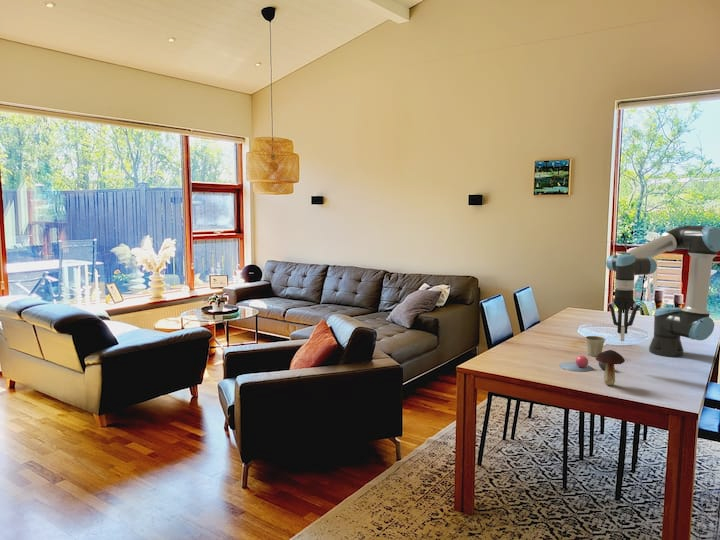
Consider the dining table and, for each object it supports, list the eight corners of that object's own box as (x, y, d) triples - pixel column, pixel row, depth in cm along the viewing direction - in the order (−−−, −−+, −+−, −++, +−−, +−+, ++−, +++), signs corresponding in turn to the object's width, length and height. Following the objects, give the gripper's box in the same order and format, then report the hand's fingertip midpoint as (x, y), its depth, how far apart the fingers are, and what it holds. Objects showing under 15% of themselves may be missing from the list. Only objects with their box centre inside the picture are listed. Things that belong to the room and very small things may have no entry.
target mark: (590, 363, 251) (590, 363, 251) (593, 372, 237) (593, 372, 237) (558, 361, 255) (558, 361, 255) (560, 370, 241) (560, 369, 241)
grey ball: (597, 356, 245) (597, 367, 245) (599, 359, 239) (600, 371, 240) (610, 355, 243) (610, 367, 244) (612, 359, 238) (613, 371, 239)
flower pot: (603, 352, 269) (603, 336, 268) (606, 358, 260) (607, 340, 259) (583, 351, 271) (583, 335, 270) (585, 356, 262) (586, 339, 261)
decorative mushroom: (615, 391, 214) (616, 355, 212) (589, 384, 222) (591, 349, 221) (628, 385, 220) (630, 350, 218) (603, 378, 229) (605, 345, 227)
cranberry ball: (587, 354, 247) (575, 354, 248) (589, 357, 241) (576, 357, 243) (587, 366, 247) (574, 365, 249) (588, 369, 242) (576, 368, 244)
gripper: (609, 289, 234) (607, 341, 237) (642, 290, 231) (639, 343, 233) (607, 287, 242) (604, 337, 244) (638, 288, 238) (636, 339, 241)
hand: (621, 340), depth 239 cm, fingers closed
